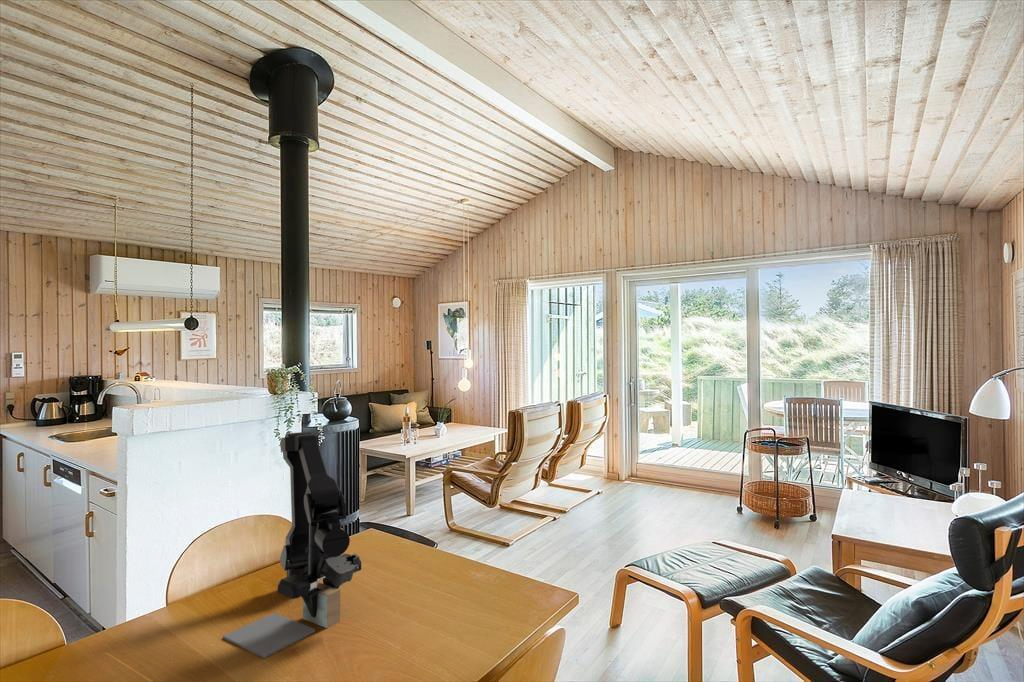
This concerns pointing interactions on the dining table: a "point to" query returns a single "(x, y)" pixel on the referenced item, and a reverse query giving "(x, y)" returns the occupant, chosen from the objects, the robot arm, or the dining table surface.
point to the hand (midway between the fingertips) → (321, 613)
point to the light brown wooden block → (325, 607)
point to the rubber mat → (268, 634)
